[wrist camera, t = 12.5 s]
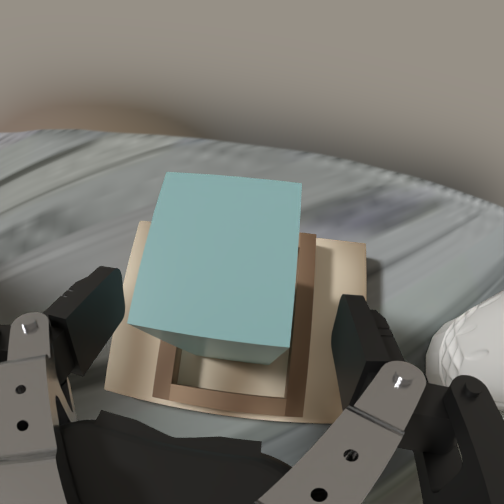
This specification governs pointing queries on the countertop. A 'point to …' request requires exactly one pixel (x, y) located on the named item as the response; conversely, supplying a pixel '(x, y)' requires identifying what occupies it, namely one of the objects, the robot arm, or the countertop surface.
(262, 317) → the pale teal block
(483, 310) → the white cup
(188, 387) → the tan flat rimmed tray
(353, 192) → the countertop surface
